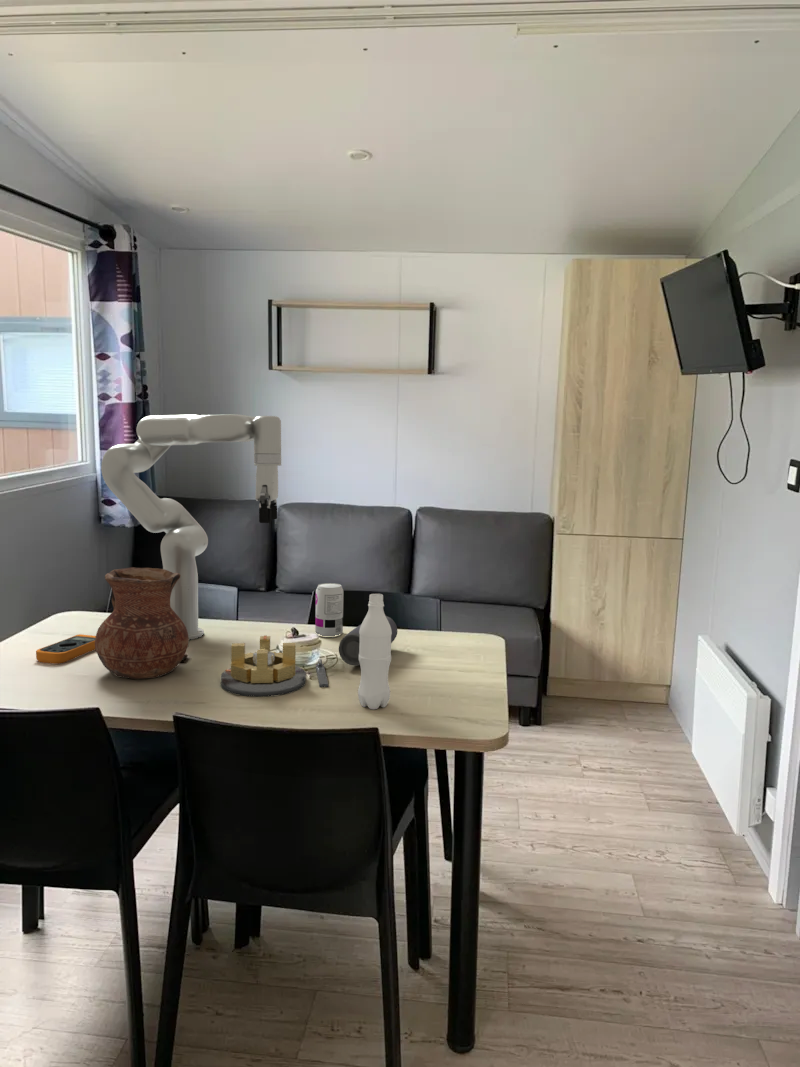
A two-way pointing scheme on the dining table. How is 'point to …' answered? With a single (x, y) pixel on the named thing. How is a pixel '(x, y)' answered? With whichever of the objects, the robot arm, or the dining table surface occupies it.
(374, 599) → the water bottle
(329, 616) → the supplement can
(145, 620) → the clay pot
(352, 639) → the bluetooth speaker
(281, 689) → the housing
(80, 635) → the multimeter
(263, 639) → the ring nut
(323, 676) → the pin spanner
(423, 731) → the dining table surface
